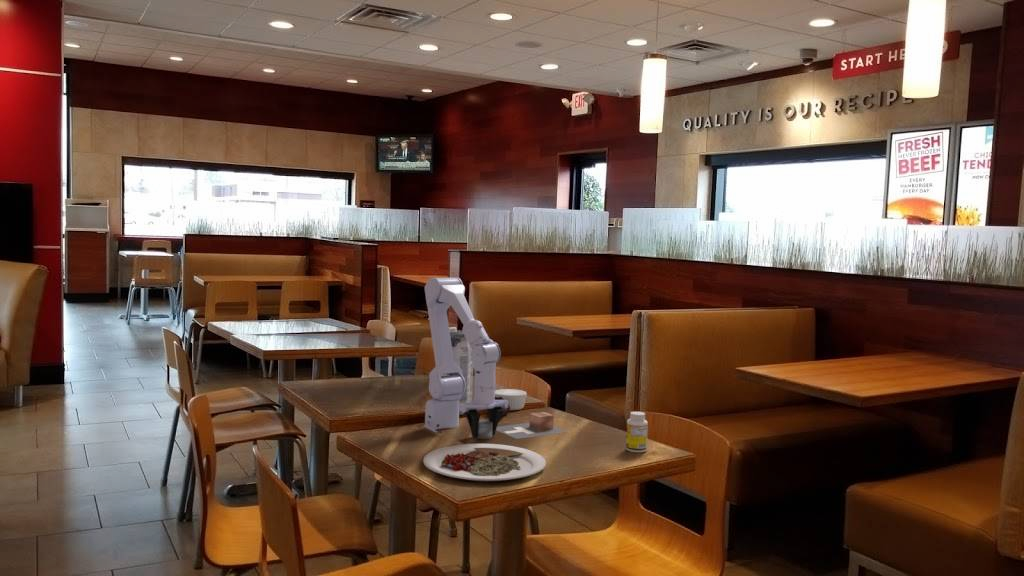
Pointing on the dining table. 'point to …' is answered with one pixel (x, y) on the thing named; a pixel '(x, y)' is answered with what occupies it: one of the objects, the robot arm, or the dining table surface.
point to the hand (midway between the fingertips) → (483, 435)
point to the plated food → (483, 462)
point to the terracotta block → (541, 421)
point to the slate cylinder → (485, 429)
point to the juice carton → (462, 362)
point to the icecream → (506, 410)
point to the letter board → (526, 431)
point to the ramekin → (512, 397)
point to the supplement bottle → (636, 432)
